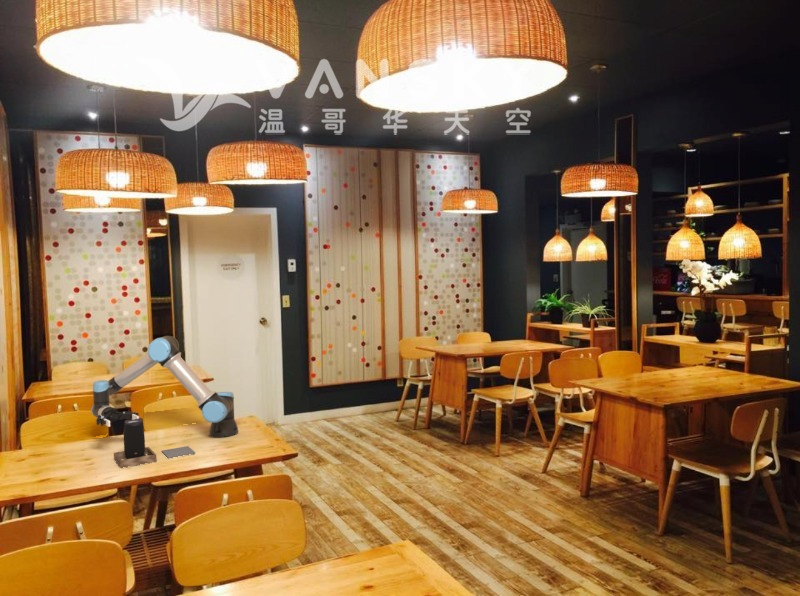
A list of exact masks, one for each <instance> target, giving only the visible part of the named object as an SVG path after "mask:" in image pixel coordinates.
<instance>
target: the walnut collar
mask: <svg viewBox="0 0 800 596" xmlns="http://www.w3.org/2000/svg"><path fill="white" fill-rule="evenodd" d="M146 454H148V455H146ZM124 458H126V456H125V451H124V450H122V451H118V452H117V451H116V452H113V461H114V460H115V461H116V462H115V461H114V462H115V463H116V465H117V464H118V465H117V466H118V467H120V468H121V469H124V468H123V467H126V468H129V467H128V466H132V467H136V466H135V465H137V466H141V465H140V464H143V465H146V464H145V463H148V464H152V462H154V463H157V461H158V458H157V454H156V453H155V451H153V450H152V448H151V447H149V446H145V453H144V456H143V457H137V458H131V459H124ZM120 468H119V469H120Z"/></svg>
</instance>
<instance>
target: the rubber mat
mask: <svg viewBox="0 0 800 596" xmlns="http://www.w3.org/2000/svg"><path fill="white" fill-rule="evenodd" d="M161 452H162V453H163V454H164V455H165V456H166V457H167V458H171V459H174V458H173V457H177V458H179V457H178V456H182V457H184V456H183V455H188V456H190V455H189V454H193V455H196V451H195V450H193V449H192V448H191V447H190V446H189V445H188V446H187V445H186V446H181V447H175V448H170V449H163V450H161ZM162 453H161V454H162ZM163 454H162V455H163ZM164 455H163V456H164ZM165 456H164V457H165ZM166 457H165V458H166ZM167 458H166V459H167Z"/></svg>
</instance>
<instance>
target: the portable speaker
mask: <svg viewBox="0 0 800 596" xmlns="http://www.w3.org/2000/svg"><path fill="white" fill-rule="evenodd" d="M145 438H146V437H145V428H144V423H143V419H142V418H139V419H135V420H132V419H126V420H124V428H123V449H124V450H123V451H125V456H126V459H131V458H137V457H143V456H145V455H144V453H145V447H146V440H145ZM126 459H125V460H126Z"/></svg>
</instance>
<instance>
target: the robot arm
mask: <svg viewBox="0 0 800 596" xmlns="http://www.w3.org/2000/svg"><path fill="white" fill-rule="evenodd" d="M181 356H182V352H181V351H180V344H179V341H178V339H176V337H174V336H171V335H165V336H162V337H157V338H155V339H154V340H152V341H151V342H150V343H149V345H148V347H147V353H146V354H144V355H143V356H141V357H140V358H139V359H137V360H135V362H132V364H130V365H128V366H127V367H125V368H124V369H123V370H122V371H120V372H119V373H117V374H116V375H114V376H113V377H111V378H110V379H109V380H104V379H103V380H95V381H93V383H92V394H93V405H92V407H91V414H92V415H93V417H96V419H95V422H96V425H97V426H98V425H100V426H101V427H103V426H104V425H105V426H106V427H109V428H110V427H111V423H113V422H115V421H117V420H121V421H122V420H124V419H126V420H135V419H140V415H139V412H135V411H134V412H133V411H125V410H124V411H122V412H121V411H118V410H117V409H116V408H115V407H113V406H110V396H112V395H115V394H117V393H119V392H120V391H121V390H122V389H123V388H124V387H126V386H127V385H129V384H130V383H132V382H133V381H134V380H136V379H137V378H139V377H140V376H142V375H143V374H144V373H146V372H147V371H149V370H150V369H151V368H153V367H154V366H156V365H157V364H159V365H160V366H161V367H162V368H166V369H168V370H169V371H170V373H171V374H172V375H173V376H174V377H175V378H176V379H177V380H178V382H179V383H180V384H181V385H182V386H183V387H184V388H185V389H186V390H187V392H188V393H189V394H190V395H191V396H192V397H193V399H195V401H196V402H197V408H199V410H200V411H201V414H202V418H203V419H204V420H205V421H207V422H208V423H211V424H210V428H209V430H208V431H209V434H208V435H209V436H210V437H212V436H213V437H212V438H225V437H224V436H228V437H231V436H230V435H233V436H235V435H234V434H236V433H237V434H239V428H238V425H237V421H236V420H235V404H234V402H235V400H234V399H235V397H234V392H232V391H218V392H217V391H212V390H211V389H210V388H209V387H208V386H207V385H206V384H205V383H204V381H203V380H202V379H201V378H200V377H199V376H198V375H197V373H196V372H194V371H195V370H193V369H192V368H191V366H189V365H188V363H187V362H186V361H185V360H184V359H183V358H182V357H181ZM237 434H236V435H237Z"/></svg>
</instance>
